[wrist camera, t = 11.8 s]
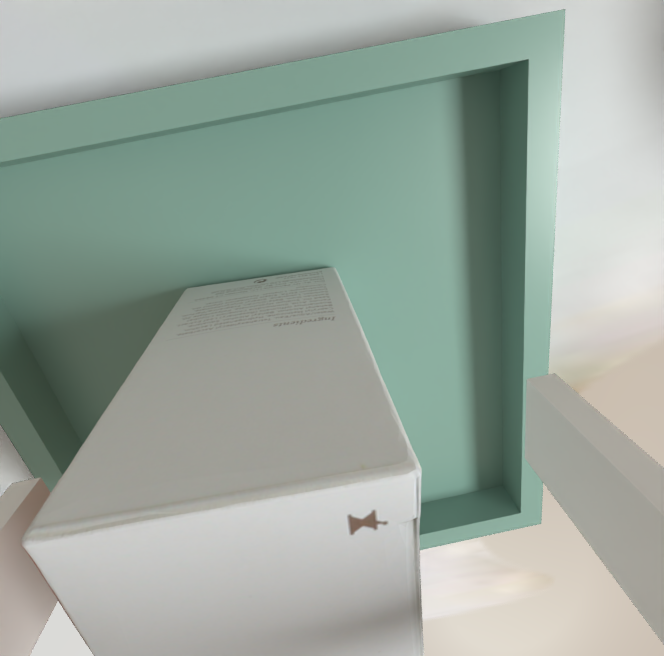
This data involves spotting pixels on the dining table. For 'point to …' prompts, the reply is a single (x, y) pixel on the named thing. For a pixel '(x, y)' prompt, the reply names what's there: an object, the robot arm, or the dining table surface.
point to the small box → (243, 489)
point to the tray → (305, 240)
